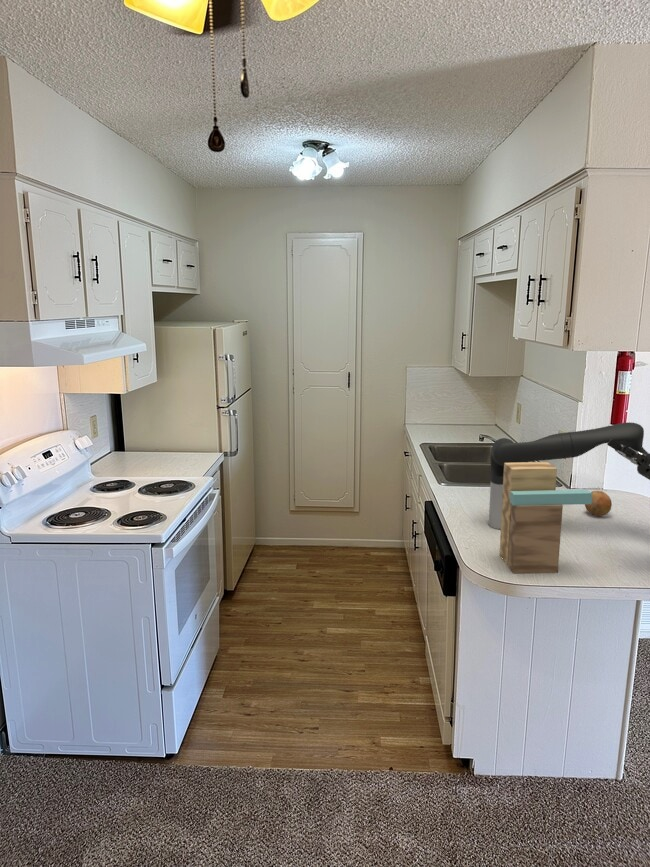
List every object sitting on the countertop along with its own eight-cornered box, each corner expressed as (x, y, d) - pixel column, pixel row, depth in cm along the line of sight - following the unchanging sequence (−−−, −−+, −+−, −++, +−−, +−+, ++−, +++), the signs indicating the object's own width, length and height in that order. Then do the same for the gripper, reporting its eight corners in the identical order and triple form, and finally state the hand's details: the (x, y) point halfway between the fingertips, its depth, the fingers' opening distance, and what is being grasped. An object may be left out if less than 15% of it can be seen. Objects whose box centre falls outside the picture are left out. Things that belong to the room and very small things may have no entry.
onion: (611, 513, 238) (613, 489, 235) (610, 520, 229) (612, 496, 227) (584, 509, 242) (586, 486, 240) (582, 517, 233) (584, 492, 231)
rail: (509, 501, 185) (510, 491, 184) (586, 500, 186) (587, 489, 185) (513, 505, 182) (514, 494, 181) (591, 504, 182) (592, 493, 181)
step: (508, 566, 191) (511, 501, 186) (551, 565, 191) (556, 500, 186) (513, 573, 186) (517, 506, 181) (557, 572, 186) (562, 505, 181)
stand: (499, 555, 199) (504, 462, 193) (540, 554, 200) (547, 461, 193) (507, 565, 192) (512, 469, 185) (550, 564, 192) (557, 468, 185)
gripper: (652, 454, 190) (611, 429, 188) (679, 466, 176) (635, 439, 174) (638, 474, 192) (597, 449, 190) (663, 487, 178) (620, 461, 176)
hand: (615, 444), depth 182 cm, fingers open, 8 cm apart
